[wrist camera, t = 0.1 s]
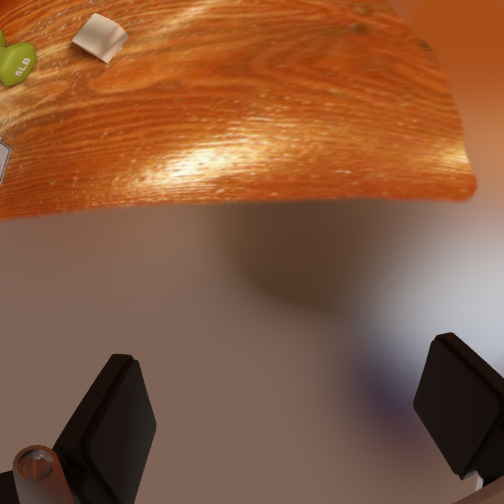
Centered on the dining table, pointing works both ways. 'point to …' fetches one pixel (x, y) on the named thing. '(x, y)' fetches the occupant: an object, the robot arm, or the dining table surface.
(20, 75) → the dumbbell
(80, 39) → the maple block
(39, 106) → the dining table surface
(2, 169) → the smartphone
